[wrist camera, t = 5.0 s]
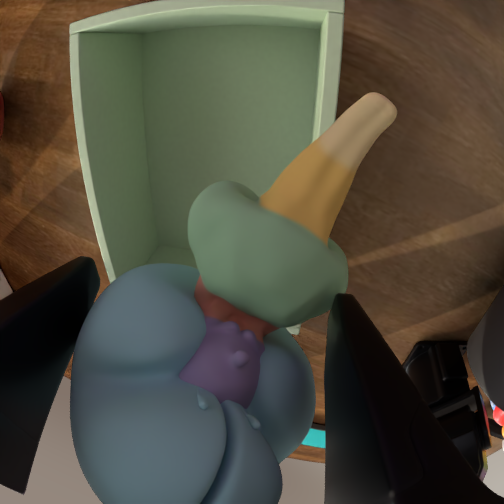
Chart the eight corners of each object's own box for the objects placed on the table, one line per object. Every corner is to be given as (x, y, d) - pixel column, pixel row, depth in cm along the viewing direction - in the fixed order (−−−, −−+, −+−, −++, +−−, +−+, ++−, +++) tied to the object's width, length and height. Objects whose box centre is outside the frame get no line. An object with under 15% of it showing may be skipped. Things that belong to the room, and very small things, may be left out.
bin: (302, 264, 22) (298, 335, 17) (155, 246, 23) (117, 304, 18) (329, 22, 13) (345, -1, 7) (138, 26, 14) (69, 23, 8)
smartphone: (272, 418, 35) (364, 437, 37) (272, 413, 36) (364, 432, 37) (252, 433, 40) (337, 450, 41) (253, 429, 40) (337, 446, 42)
